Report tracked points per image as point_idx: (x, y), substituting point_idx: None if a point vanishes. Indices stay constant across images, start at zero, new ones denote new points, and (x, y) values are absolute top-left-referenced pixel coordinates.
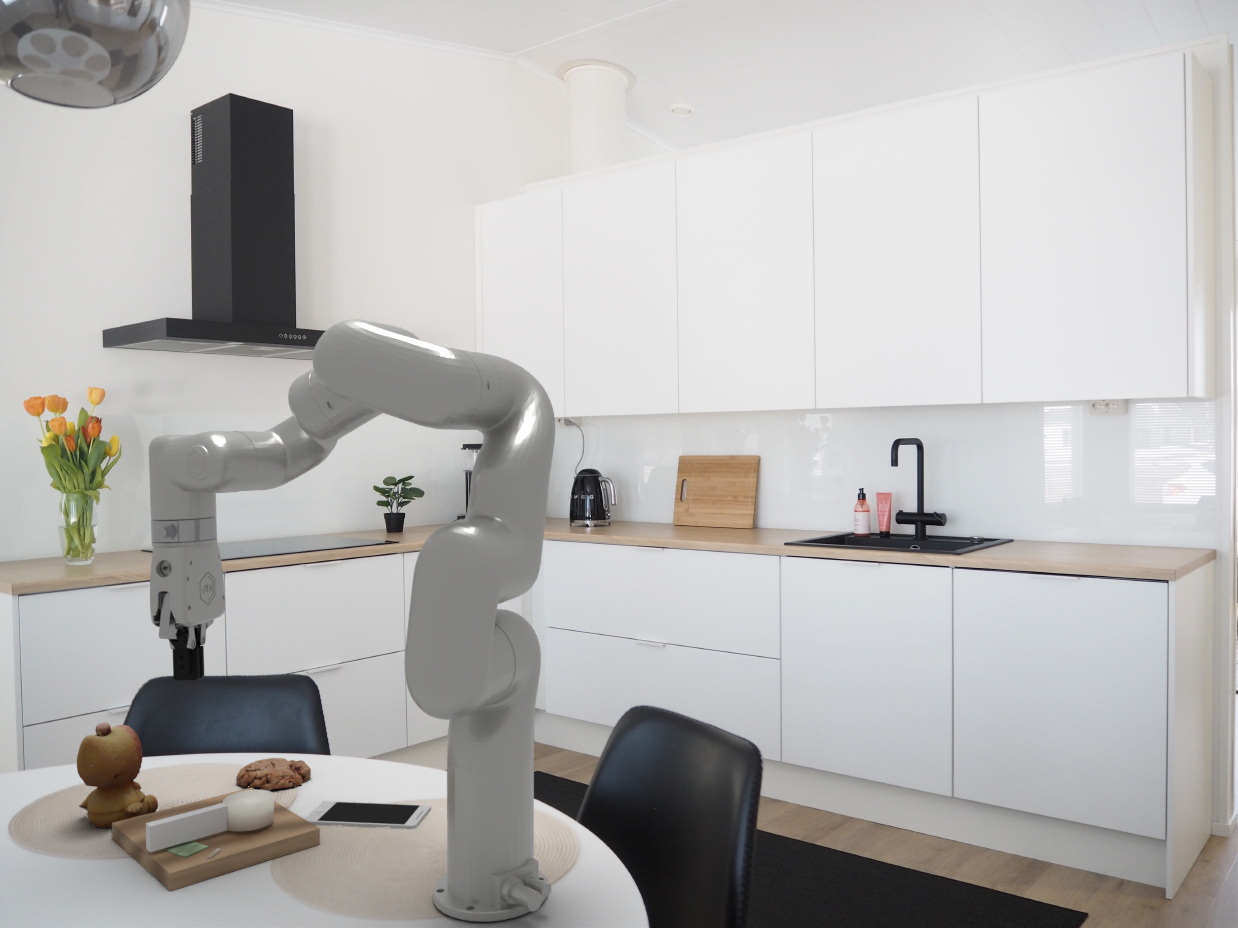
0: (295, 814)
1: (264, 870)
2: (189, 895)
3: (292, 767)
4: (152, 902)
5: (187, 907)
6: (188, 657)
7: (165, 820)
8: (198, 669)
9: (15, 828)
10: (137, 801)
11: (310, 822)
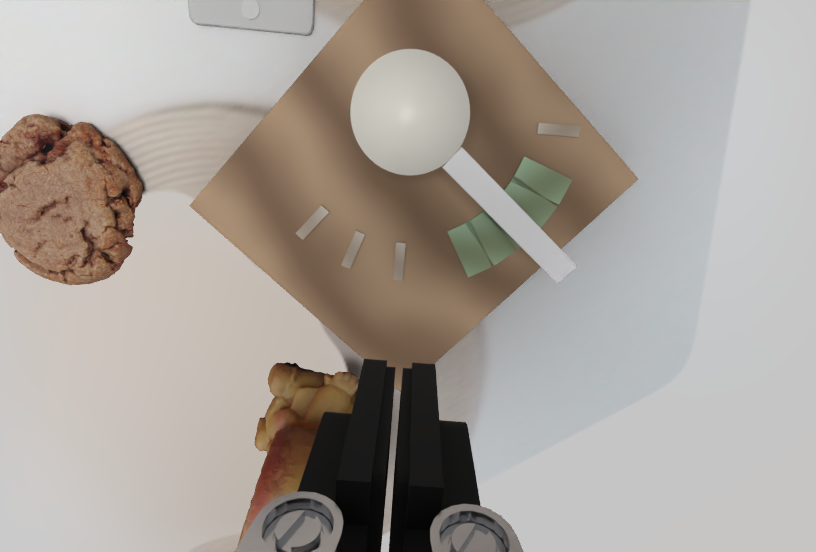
0: (341, 29)
1: (549, 26)
2: (644, 132)
3: (52, 153)
4: (663, 186)
5: (692, 114)
6: (471, 483)
7: (544, 250)
8: (428, 386)
9: None
10: (334, 387)
11: (313, 11)
